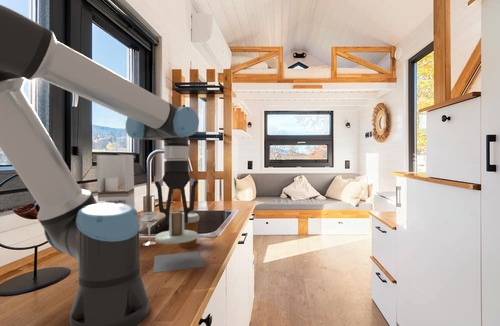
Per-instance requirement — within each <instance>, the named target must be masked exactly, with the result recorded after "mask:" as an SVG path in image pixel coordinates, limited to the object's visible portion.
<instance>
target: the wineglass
mask: <svg viewBox="0 0 500 326" xmlns="http://www.w3.org/2000/svg"><path fill="white" fill-rule="evenodd" d="M158 213H159V212H157V211H145V212H140V213H139V215H140V216H139V223H140V224H141V225H142V226H144V227H146V228H147V229H148V231H147V232H148V234H147V235H148V241H147V242H144V243H142V245H143V246H151V245H156V244H157V241H151V228H152V226H155V225H156V224H157V222H158V219H159V216H158Z"/></svg>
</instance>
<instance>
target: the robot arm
mask: <svg viewBox="0 0 500 326" xmlns="http://www.w3.org/2000/svg"><path fill="white" fill-rule="evenodd" d="M36 79H40V80H43V81H45V82H47V83H49V84H51V85H54V86H56V87H59V88H61V89H63V90H65V91H68V92H70V93H72V94H74V95H77V96H79V97H82V98H83V99H86V100H87V101H90V102H93V103H95V104H97V105H99V106H101V107H104V108H107V109H109V110H111V111H114V112H116V113H118V114H120V115H123V116H125V117H126V119H125V132H126V134H127V136H128V137H129V138H132V139H137V140H151V141H163V145H164V146H163V158H164V159H165V161H164V162H163V167H164V168H163V169H164V170H163V173H164V175H163V176H162V178H160V179H158V180H155V182H154V185H155V187H156V189H157V199H158V201H157V202H158V210H159V212H160V213H162V214H164V218H165V221H164V223H165V224H166V225H168V231H169V235H172V214H171V213H172V212H170V211H171V205H172V198H173V193H174V190H179V192H180V196H181V203H182V208H183V212H182V211H181V212H182V234H184V223H188V213H191V212H193V211H194V209H195V199H196V198H195V197H196V188H197V185H198V183H199V182H198V180H196V179H193V178H191V176H190V173H189V171H190V170H189V169H190V168H189V166H190V164H189V161H188V159H189V156H190V155H189V153H190V152H189V151H190V150H189V149H190V146H189V137H190V136H193V135H194V134H196V133H197V131H198V129H199V125H200V119H199V116H198V113H197V112H196V110H194V109H193V108H192V107H191V106H181V105H180V106H176V105H174V104H172V103H170V102H168V101H167V100H165V99H163V98H161V97H160V96H158V95H156V94H155V93H152V92H150V91H148V90H147V89H145V88H143V87H141V86H139V85H138V84H135V83H134V82H132V81H130V80H129V79H127V78H125V77H124V76H121V75H119V74H118V73H116V72H114V71H112V70H111V69H109V68H107V67H105V66H103V65H102V64H100V63H98V62H97V61H94V60H92V59H91V58H89V57H87V56H85V55H84V54H82V53H80V52H78V51H76V50H74V48H71V47H70V46H67V45H65V44H64V43H62V42H60V41H58V40H57V38H56V36H55V34H54V32H53V31H52V30H50V29H49V28H46V27H45V26H43V25H41V24H39V23H38V22H36V21H34V20H33V19H31V18H29V17H27V16H25V15H23V14H22V13H19V12H18V11H15V10H13V9H11V8H9V7H7V6H5V5H2V4H0V150H1V151H2V153H3V154H4V157H6V159H7V160H8V161H9V163H10V165H11V166H12V168H13V169H14V171H15V172H16V174H17V175H18V176H19V179H20V180H21V181H22V183H23V184H24V186H25V187H26V188H27V190H28V191H29V194H30V195H31V196H32V198H33V199H34V201H35V202H36V203H37V206H39V211H38V212H37V215H36V218H37V220H38V222H39V223H40V225H41V226H42V228H43V233H44V237H45V238H46V240H47V242H48V243H49V245H50V246H51V247H52V248H53V249H55V250H56V251H58V252H60V253H62V254H66V255H68V256H70V257H73V258H74V259H76V260H77V265H78V266H77V267H78V268H77V269H78V270H77V271H78V288H77V290H76V291H77V292H76V295H75V298H74V299H73V302H72V303H73V304H72V306H71V310H70V312H69V318H68V319H69V322H68V323H69V326H136V325H138V324H139V323H140V322H142V321H143V320H144V319H145V318H146V317H147V316H148V314H149V311H150V298H149V295H148V293H147V290H146V287H145V285H144V283H143V280H142V277H141V272H140V271H141V270H140V264H141V263H140V257H141V256H140V228H141V225H140V224H141V222H140V217H139V213H138V211H137V209H136V208H134V207H132V206H129V205H126V204H121V203H118V204H115V203H105V202H98V201H97V200H96V199H95V196H94V195H93V193H92V192H91V191H90V190H88V189H83V188H81V187H80V186H79V184H78V182H77V180H76V179H75V177H74V175H73V174H72V172H71V170H70V169H69V166H68V165H67V163H66V161H65V159H64V158H63V156H62V155H61V153H60V151H59V150H58V148H57V147H56V145H55V142H54V141H53V139H52V138H51V136H50V134H49V133H48V131H47V129H46V127H45V126H44V124H43V123H42V121H41V119H40V117H39V115H38V114H37V112H36V110H35V108H34V107H33V105H32V104H31V102H30V101H29V98H28V97H27V95H26V94H25V92H24V85H25V83H26V80H29V81H31V80H32V81H33V80H36ZM188 183H189V185H190V195H189V207H188V203H187V197H186V191H185V187H186V186H187V185H188ZM164 184H165V185H166V186H167V187H168V194H167V199H166V204H165V207H164V200H163V190H162V189H163V188H162V187H163V186H164Z"/></svg>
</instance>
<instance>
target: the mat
mask: <svg viewBox="0 0 500 326" xmlns="http://www.w3.org/2000/svg"><path fill="white" fill-rule="evenodd" d="M205 265H206V264H205V262H204V259H203V257H202V254H201V252H200V250H196V251H187V252H179V253H178V252H177V253H176V252H175V253H169V254H168V253H167V254H158V255H154V257H153V266H152V267H153V268H152V274H157V273H165V272H171V271H179V270H181V271H182V270H188V269H195V268H196V269H197V268H198V269H199V268H206V266H205Z"/></svg>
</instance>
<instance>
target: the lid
mask: <svg viewBox="0 0 500 326" xmlns="http://www.w3.org/2000/svg"><path fill="white" fill-rule="evenodd" d="M170 213H171V214H172V235H169V230H166V231H161V232H159V233H157V234H156V235H155V238H154V240H155V242H156V243H160V244H166V245H167V244H168V245H169V244H170V245H171V244H172V245H175V244H178V243H185V242H190V241H193V240H195V239H198V238H199V237H198V231H197V232H195V231H191V230H184V234H182V211H173V212H172V211H171V212H170Z"/></svg>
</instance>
